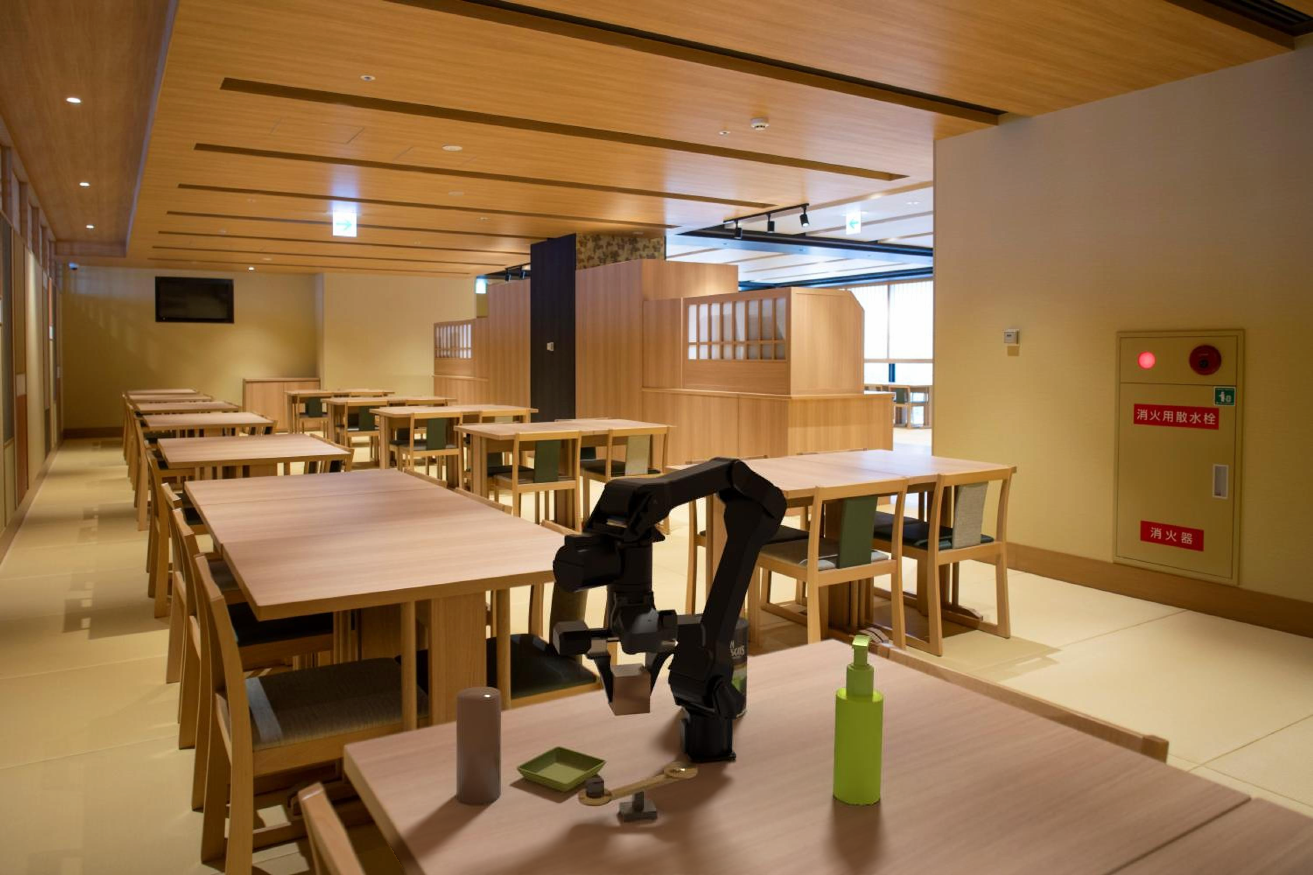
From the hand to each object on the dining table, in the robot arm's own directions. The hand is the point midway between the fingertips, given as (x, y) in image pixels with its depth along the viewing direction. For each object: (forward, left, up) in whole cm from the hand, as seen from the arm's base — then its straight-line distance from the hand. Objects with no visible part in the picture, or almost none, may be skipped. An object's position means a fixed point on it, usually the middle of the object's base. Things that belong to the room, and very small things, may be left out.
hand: (628, 699), depth 121 cm
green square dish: (+8, -5, -12) cm, 15 cm away
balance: (0, +7, -11) cm, 14 cm away
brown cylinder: (+19, -2, -12) cm, 22 cm away
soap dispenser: (-28, +8, -12) cm, 31 cm away
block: (0, 0, -1) cm, 1 cm away
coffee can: (-19, -24, -12) cm, 33 cm away
